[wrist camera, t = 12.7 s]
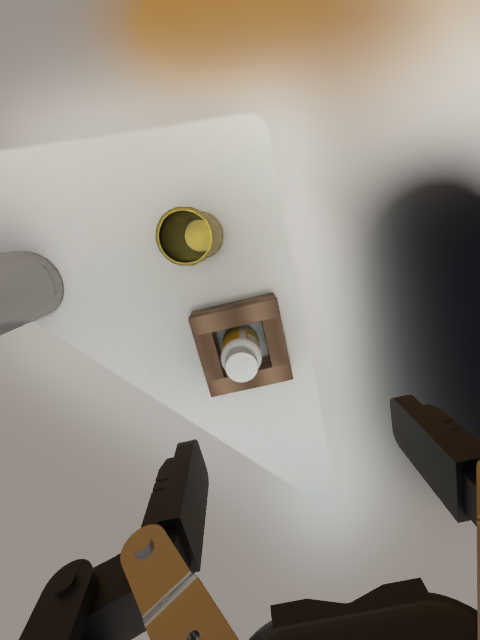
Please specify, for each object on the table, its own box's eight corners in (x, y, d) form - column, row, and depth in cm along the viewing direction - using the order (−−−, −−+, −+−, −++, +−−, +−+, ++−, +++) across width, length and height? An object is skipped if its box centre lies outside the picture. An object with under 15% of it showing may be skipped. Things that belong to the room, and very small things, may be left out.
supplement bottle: (259, 324, 45) (266, 348, 35) (256, 357, 46) (262, 389, 37) (223, 322, 44) (221, 345, 35) (221, 355, 46) (218, 386, 37)
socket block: (213, 383, 47) (211, 397, 43) (192, 311, 44) (188, 319, 40) (288, 367, 47) (293, 379, 43) (273, 292, 43) (276, 298, 39)
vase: (229, 249, 41) (227, 257, 28) (188, 264, 42) (166, 280, 28) (213, 205, 40) (203, 190, 26) (171, 221, 40) (138, 215, 27)
